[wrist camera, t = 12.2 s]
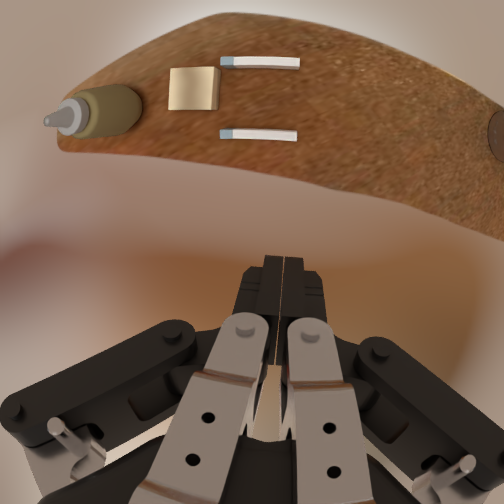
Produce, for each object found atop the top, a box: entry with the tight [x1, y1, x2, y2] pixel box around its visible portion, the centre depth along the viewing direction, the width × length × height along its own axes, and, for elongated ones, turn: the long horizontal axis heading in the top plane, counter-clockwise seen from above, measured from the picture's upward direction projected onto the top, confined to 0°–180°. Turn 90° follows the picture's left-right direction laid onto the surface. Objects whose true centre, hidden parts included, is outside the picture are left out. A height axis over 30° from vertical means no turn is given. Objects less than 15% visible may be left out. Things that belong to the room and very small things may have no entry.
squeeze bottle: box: [44, 84, 142, 139], centre depth 29 cm, size 8×8×18 cm
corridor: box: [220, 56, 300, 141], centre depth 33 cm, size 10×11×3 cm
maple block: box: [169, 67, 221, 110], centre depth 34 cm, size 6×6×4 cm
